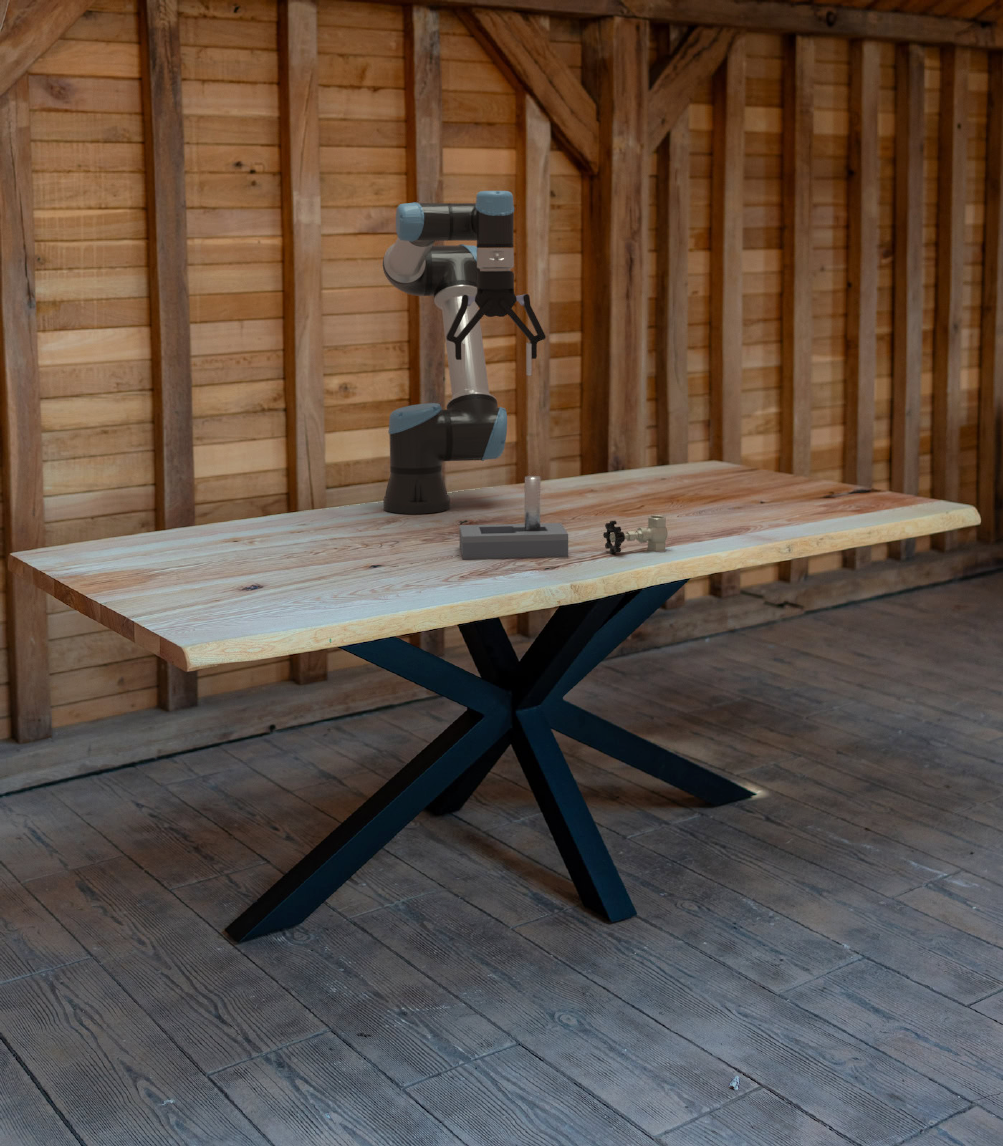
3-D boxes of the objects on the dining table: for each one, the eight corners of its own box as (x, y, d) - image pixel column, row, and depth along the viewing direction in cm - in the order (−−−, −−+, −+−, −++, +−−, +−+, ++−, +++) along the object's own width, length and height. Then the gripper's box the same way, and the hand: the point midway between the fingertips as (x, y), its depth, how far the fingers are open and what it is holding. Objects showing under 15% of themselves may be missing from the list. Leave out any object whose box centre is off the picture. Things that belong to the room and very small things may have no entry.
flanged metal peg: (513, 546, 260) (513, 477, 257) (529, 541, 264) (529, 473, 261) (535, 550, 257) (535, 480, 254) (551, 545, 261) (551, 476, 258)
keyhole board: (463, 559, 254) (462, 536, 253) (459, 547, 265) (459, 525, 264) (568, 556, 256) (568, 533, 255) (560, 544, 267) (560, 522, 266)
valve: (658, 546, 265) (602, 551, 261) (658, 513, 264) (603, 517, 260) (674, 552, 259) (618, 558, 255) (675, 519, 258) (618, 524, 254)
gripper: (434, 270, 268) (436, 378, 273) (558, 269, 271) (558, 376, 275) (433, 270, 276) (434, 375, 281) (554, 269, 278) (554, 373, 283)
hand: (496, 375), depth 278 cm, fingers open, 13 cm apart
